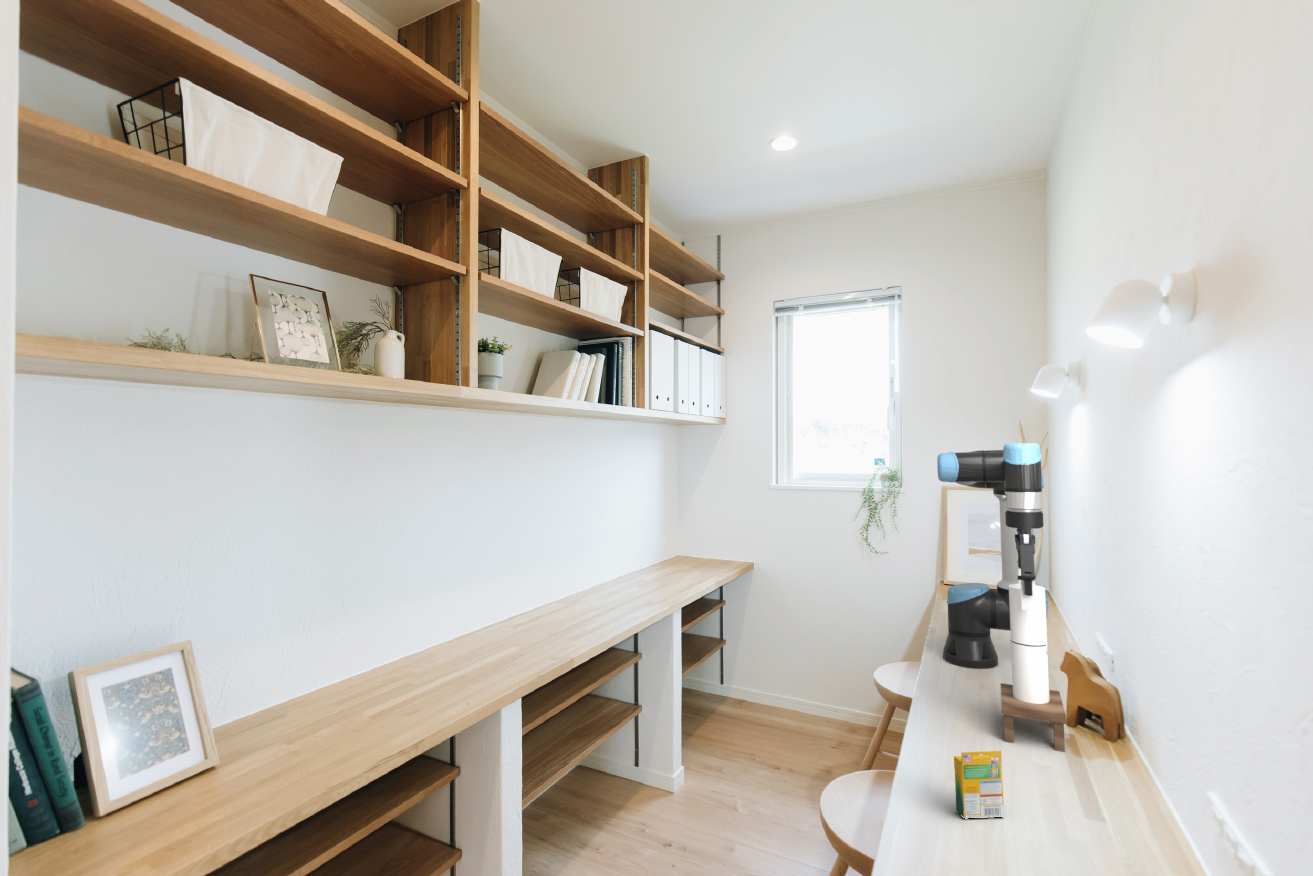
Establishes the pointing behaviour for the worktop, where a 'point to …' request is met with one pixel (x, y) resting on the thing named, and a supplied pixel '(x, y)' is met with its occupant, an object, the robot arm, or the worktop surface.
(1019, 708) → the brown flat-topped stand
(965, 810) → the crayon box
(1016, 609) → the cylindrical container
